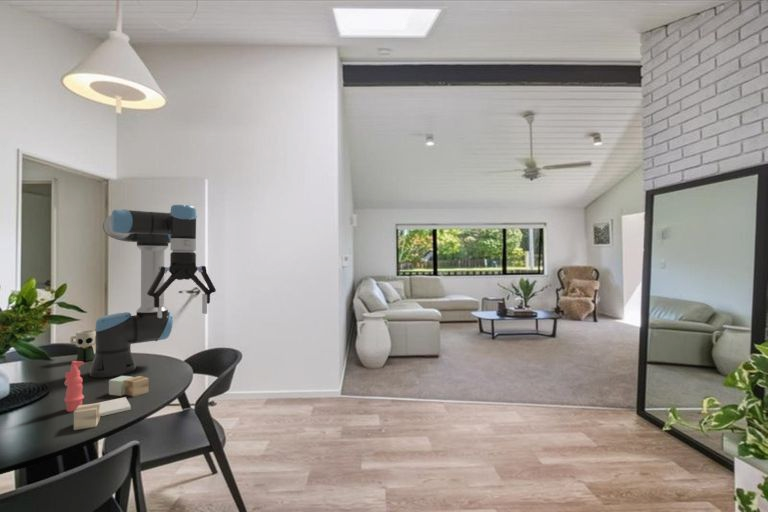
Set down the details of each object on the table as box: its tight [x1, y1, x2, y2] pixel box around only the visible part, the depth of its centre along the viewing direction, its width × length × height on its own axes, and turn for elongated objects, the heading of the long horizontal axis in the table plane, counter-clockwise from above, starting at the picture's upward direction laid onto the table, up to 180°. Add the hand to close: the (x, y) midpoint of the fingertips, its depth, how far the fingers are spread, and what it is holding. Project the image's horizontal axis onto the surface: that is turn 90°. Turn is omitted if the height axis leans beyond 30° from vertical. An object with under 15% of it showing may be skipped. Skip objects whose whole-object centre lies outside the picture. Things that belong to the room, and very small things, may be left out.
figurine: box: [63, 360, 85, 413], centre depth 118 cm, size 5×5×15 cm
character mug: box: [69, 329, 96, 362], centre depth 170 cm, size 11×7×13 cm, turn 119°
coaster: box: [98, 396, 132, 417], centre depth 118 cm, size 10×10×1 cm
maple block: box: [73, 402, 101, 431], centre depth 108 cm, size 5×5×5 cm
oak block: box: [124, 375, 150, 398], centre depth 132 cm, size 5×5×5 cm
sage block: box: [108, 375, 134, 397], centre depth 132 cm, size 5×5×5 cm
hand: (182, 315), depth 126 cm, fingers open, 13 cm apart
